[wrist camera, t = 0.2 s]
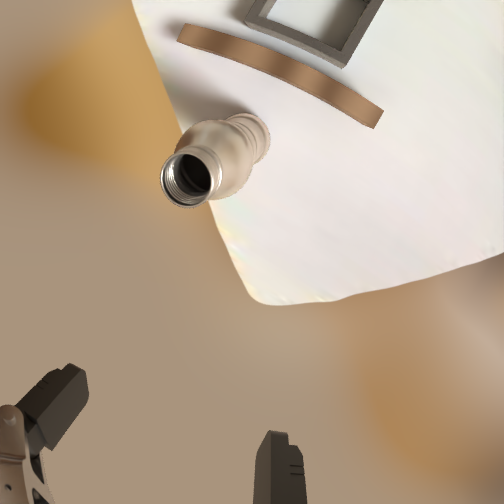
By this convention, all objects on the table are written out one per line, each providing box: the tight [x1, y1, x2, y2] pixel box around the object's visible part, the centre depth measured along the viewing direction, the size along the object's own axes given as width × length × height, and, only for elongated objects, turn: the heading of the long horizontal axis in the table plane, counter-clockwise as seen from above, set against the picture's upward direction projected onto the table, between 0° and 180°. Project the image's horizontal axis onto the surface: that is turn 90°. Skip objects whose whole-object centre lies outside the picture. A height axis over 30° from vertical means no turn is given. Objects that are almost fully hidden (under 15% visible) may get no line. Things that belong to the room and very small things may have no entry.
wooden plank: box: [177, 23, 384, 129], centre depth 25 cm, size 24×2×5 cm, turn 65°
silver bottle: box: [160, 113, 270, 208], centre depth 24 cm, size 6×7×20 cm
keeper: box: [244, 0, 384, 69], centre depth 20 cm, size 12×12×4 cm
